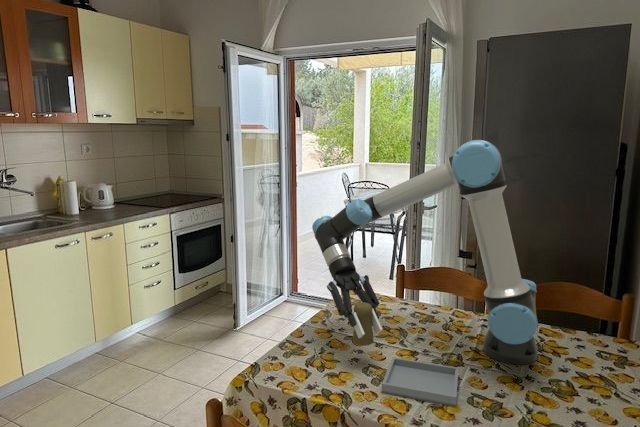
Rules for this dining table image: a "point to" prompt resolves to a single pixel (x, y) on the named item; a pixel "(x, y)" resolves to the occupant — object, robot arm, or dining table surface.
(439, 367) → the tray
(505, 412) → the dining table surface
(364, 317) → the cork
